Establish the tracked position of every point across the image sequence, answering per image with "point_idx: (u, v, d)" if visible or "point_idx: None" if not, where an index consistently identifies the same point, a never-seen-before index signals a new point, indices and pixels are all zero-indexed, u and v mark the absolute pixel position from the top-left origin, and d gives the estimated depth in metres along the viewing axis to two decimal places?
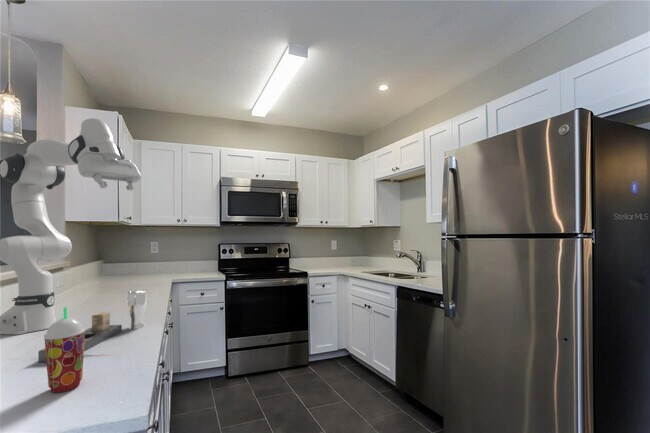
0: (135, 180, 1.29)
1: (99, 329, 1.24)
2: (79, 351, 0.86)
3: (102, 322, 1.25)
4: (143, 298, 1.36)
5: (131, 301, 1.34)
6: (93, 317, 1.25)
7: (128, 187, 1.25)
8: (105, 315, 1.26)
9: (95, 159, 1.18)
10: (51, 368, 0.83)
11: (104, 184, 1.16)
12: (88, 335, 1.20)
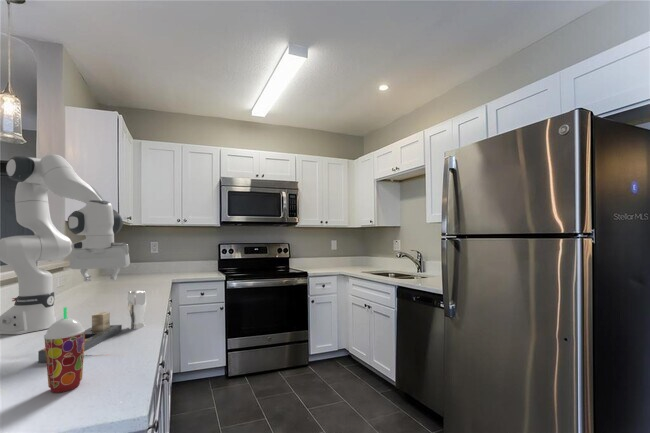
0: None
1: (99, 329, 1.24)
2: (79, 351, 0.86)
3: (102, 322, 1.25)
4: (143, 298, 1.36)
5: (131, 301, 1.34)
6: (93, 317, 1.25)
7: None
8: (105, 315, 1.26)
9: (81, 253, 1.25)
10: (51, 368, 0.83)
11: (85, 280, 1.26)
12: (88, 335, 1.20)
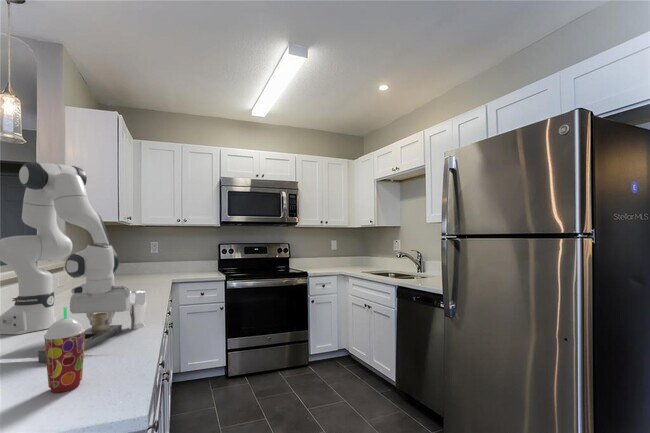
0: None
1: (99, 329, 1.24)
2: (79, 351, 0.86)
3: (102, 322, 1.25)
4: (143, 298, 1.36)
5: (131, 301, 1.34)
6: (93, 317, 1.25)
7: None
8: (105, 315, 1.26)
9: (82, 298, 1.25)
10: (51, 368, 0.83)
11: (91, 324, 1.25)
12: (88, 335, 1.20)
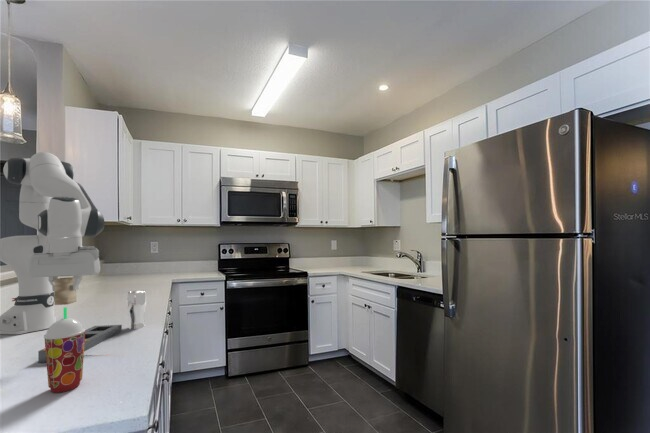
0: None
1: (63, 295, 1.07)
2: (79, 351, 0.86)
3: (66, 287, 1.07)
4: (143, 298, 1.36)
5: (131, 301, 1.34)
6: (56, 281, 1.07)
7: None
8: (70, 279, 1.09)
9: (43, 259, 1.07)
10: (51, 368, 0.83)
11: (53, 289, 1.08)
12: (88, 335, 1.20)
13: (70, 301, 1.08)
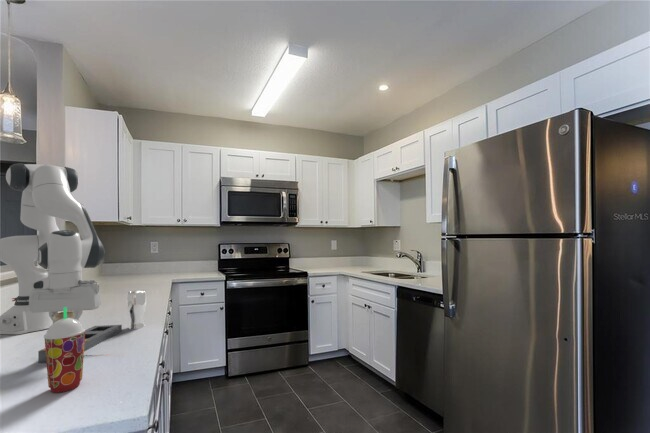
0: None
1: None
2: (79, 351, 0.86)
3: None
4: (143, 298, 1.36)
5: (131, 301, 1.34)
6: (56, 316, 1.07)
7: None
8: (71, 314, 1.08)
9: (43, 294, 1.07)
10: (51, 368, 0.83)
11: None
12: (88, 335, 1.20)
13: None
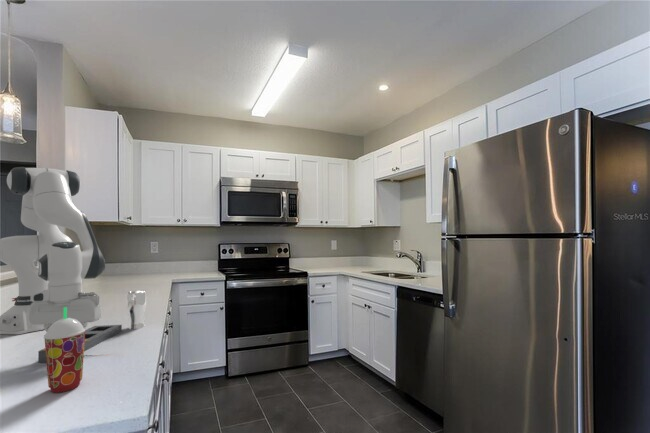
0: None
1: None
2: (79, 351, 0.86)
3: None
4: (143, 298, 1.36)
5: (131, 301, 1.34)
6: None
7: None
8: None
9: (43, 306, 1.07)
10: (51, 368, 0.83)
11: None
12: (88, 335, 1.20)
13: None
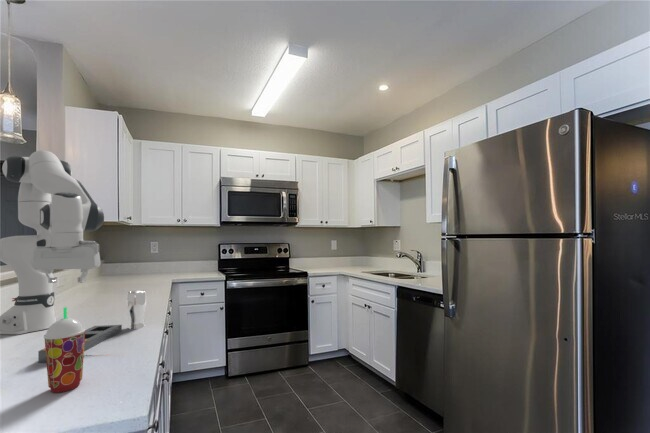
0: None
1: None
2: (79, 351, 0.86)
3: None
4: (143, 298, 1.36)
5: (131, 301, 1.34)
6: None
7: None
8: None
9: (45, 252, 1.12)
10: (51, 368, 0.83)
11: (49, 281, 1.13)
12: (88, 335, 1.20)
13: None
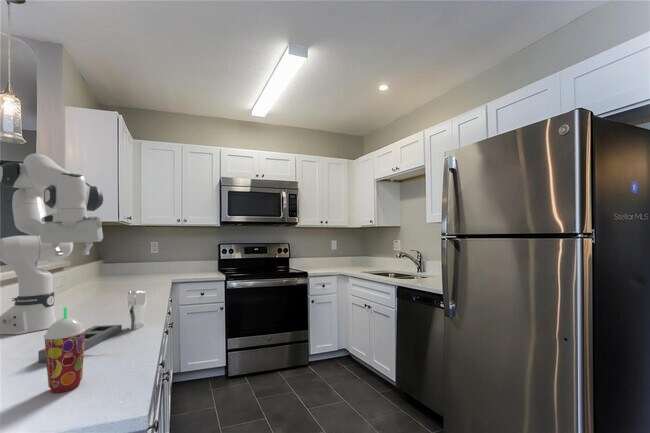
0: None
1: None
2: (79, 351, 0.86)
3: None
4: (143, 298, 1.36)
5: (131, 301, 1.34)
6: None
7: None
8: None
9: (52, 227, 1.22)
10: (51, 368, 0.83)
11: (56, 254, 1.23)
12: (88, 335, 1.20)
13: None
